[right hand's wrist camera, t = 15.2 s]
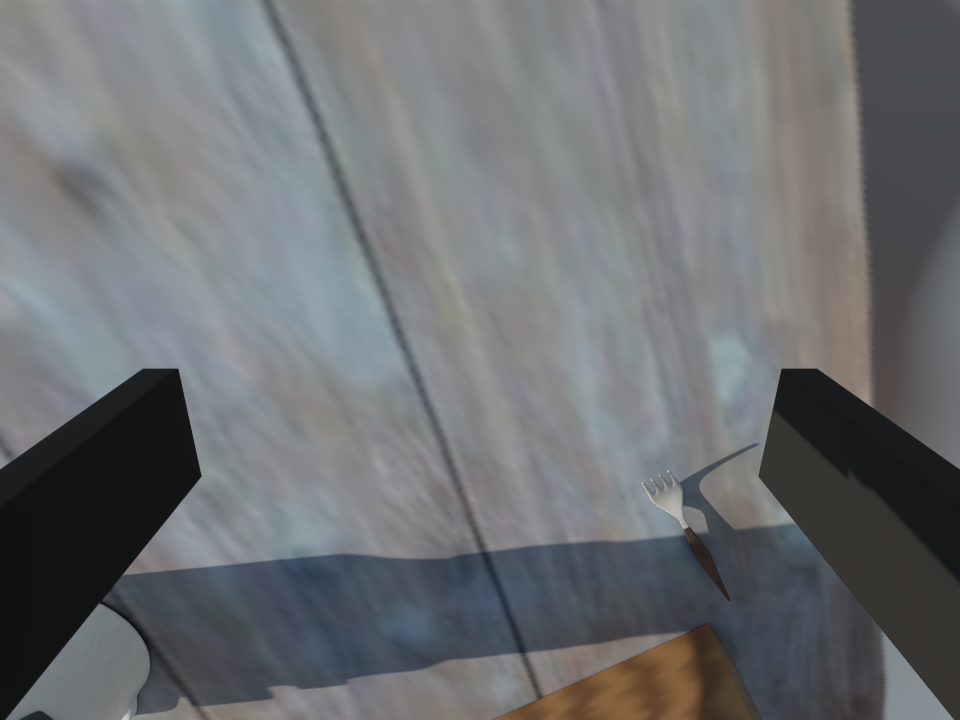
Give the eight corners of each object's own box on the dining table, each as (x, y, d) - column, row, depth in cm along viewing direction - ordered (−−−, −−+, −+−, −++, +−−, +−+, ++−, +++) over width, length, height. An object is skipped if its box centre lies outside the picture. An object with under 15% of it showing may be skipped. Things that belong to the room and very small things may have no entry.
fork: (712, 601, 50) (721, 620, 48) (633, 470, 45) (639, 484, 43) (740, 589, 49) (751, 607, 48) (663, 454, 44) (671, 469, 42)
